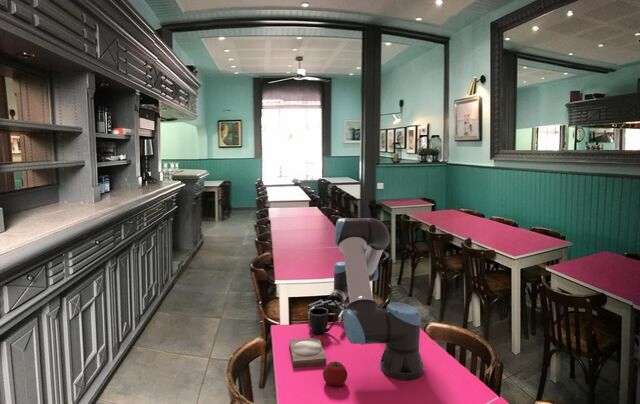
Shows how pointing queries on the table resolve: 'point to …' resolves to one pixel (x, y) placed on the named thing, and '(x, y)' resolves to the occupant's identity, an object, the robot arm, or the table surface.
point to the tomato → (335, 373)
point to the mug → (320, 320)
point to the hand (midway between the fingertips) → (323, 317)
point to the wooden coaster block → (307, 352)
